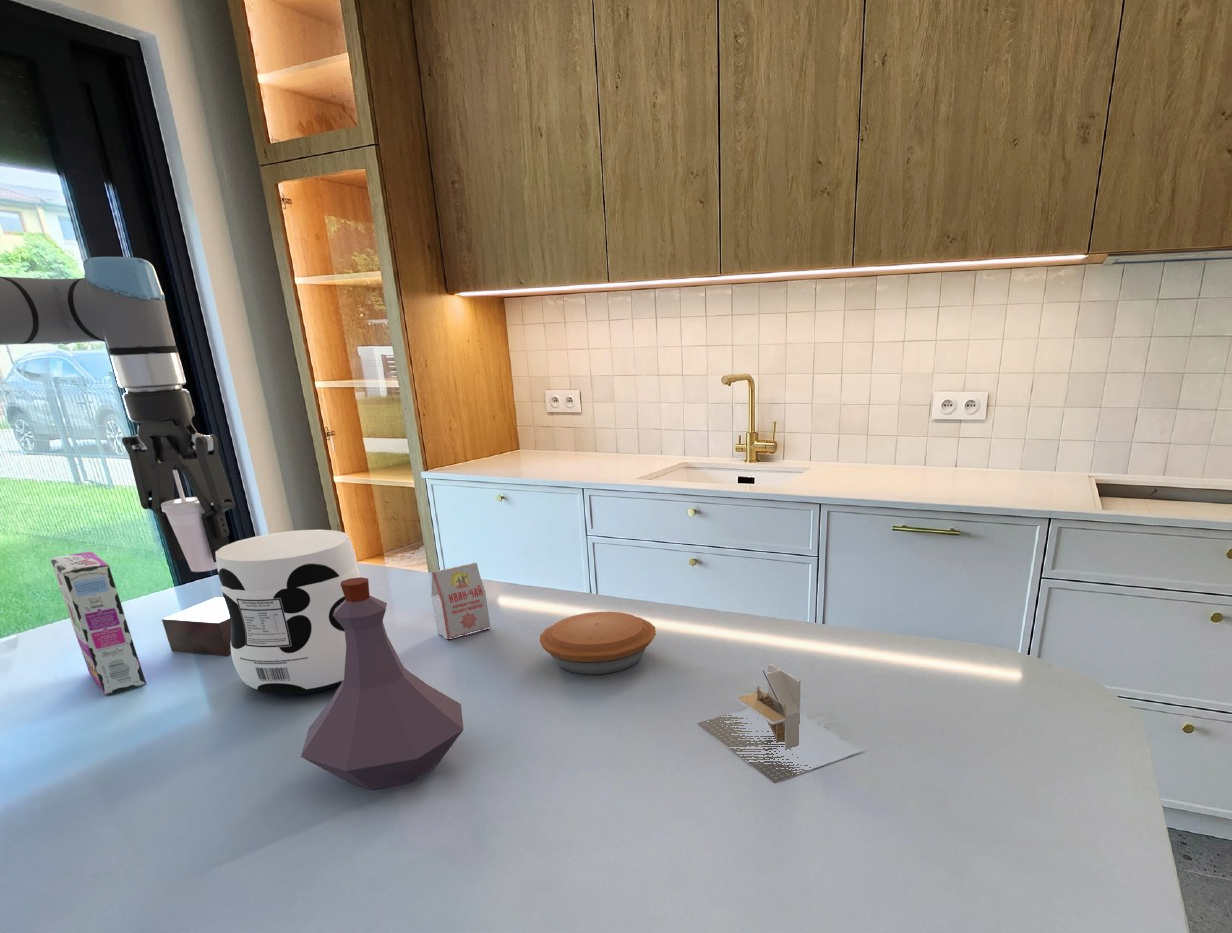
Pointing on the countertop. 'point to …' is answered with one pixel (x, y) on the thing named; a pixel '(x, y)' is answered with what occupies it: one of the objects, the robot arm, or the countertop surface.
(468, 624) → the tea bag
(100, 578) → the candy bar box
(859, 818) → the countertop surface
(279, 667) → the milk container
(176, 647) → the walnut block
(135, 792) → the countertop surface
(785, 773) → the architectural model
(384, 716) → the flask
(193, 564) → the smoothie
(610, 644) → the pie
